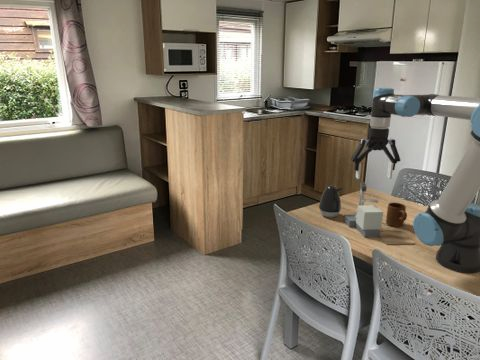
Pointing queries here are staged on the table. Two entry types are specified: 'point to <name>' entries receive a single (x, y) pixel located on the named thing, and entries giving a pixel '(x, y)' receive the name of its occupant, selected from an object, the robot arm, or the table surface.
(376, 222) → the light grey cube
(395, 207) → the mug
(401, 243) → the mat
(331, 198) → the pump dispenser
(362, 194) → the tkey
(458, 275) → the table surface
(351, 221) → the housing
